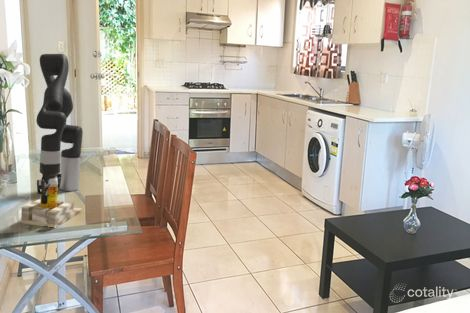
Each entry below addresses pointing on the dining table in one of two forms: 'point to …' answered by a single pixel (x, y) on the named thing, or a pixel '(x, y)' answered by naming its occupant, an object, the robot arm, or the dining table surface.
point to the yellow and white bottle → (51, 194)
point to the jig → (48, 214)
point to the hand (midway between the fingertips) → (48, 201)
